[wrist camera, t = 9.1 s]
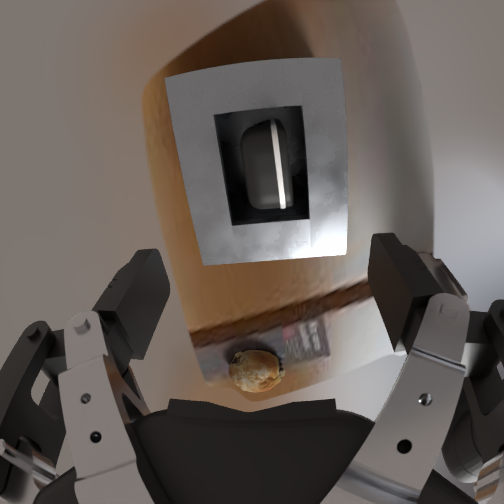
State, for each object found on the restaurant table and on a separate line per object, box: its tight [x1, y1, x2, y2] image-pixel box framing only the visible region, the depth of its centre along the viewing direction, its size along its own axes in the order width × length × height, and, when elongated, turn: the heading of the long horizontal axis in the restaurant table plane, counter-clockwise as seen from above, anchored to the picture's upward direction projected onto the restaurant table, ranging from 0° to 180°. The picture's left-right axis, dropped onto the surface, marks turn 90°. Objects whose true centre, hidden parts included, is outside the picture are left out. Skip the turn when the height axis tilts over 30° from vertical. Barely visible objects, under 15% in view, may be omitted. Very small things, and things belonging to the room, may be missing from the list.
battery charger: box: [240, 119, 293, 209], centre depth 25 cm, size 7×4×11 cm, turn 8°
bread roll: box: [229, 350, 285, 392], centre depth 50 cm, size 10×10×8 cm
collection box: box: [165, 58, 348, 265], centre depth 27 cm, size 14×18×10 cm
